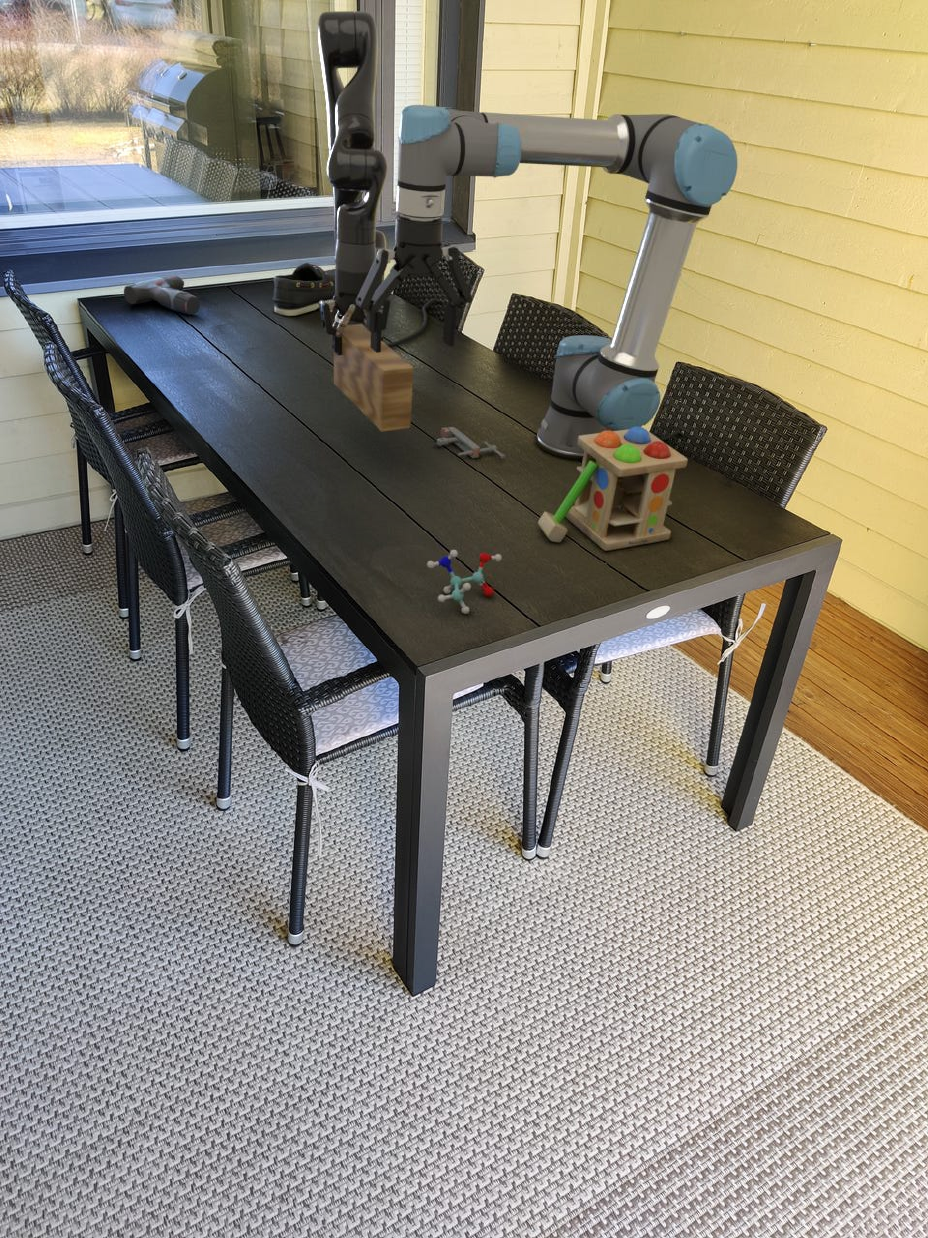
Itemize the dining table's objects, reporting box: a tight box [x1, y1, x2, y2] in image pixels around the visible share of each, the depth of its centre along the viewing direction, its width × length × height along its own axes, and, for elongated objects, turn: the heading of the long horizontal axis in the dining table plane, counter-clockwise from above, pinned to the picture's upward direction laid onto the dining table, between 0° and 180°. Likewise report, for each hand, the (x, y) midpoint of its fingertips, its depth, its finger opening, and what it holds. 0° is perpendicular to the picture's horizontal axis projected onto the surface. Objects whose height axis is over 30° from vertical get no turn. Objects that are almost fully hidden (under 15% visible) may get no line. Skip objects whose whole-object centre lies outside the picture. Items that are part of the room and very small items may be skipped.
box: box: [333, 324, 415, 433], centre depth 187 cm, size 24×6×12 cm, turn 27°
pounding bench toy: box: [537, 426, 689, 552], centre depth 173 cm, size 23×14×18 cm, turn 116°
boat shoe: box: [272, 262, 335, 317], centre depth 274 cm, size 13×33×10 cm, turn 147°
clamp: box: [436, 426, 507, 460], centre depth 201 cm, size 15×2×10 cm
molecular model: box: [426, 549, 503, 615], centre depth 154 cm, size 12×10×10 cm
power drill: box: [123, 275, 201, 316], centre depth 262 cm, size 5×19×20 cm
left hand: (354, 352), depth 192 cm, fingers closed on box, 6 cm apart
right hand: (412, 346), depth 167 cm, fingers open, 13 cm apart
